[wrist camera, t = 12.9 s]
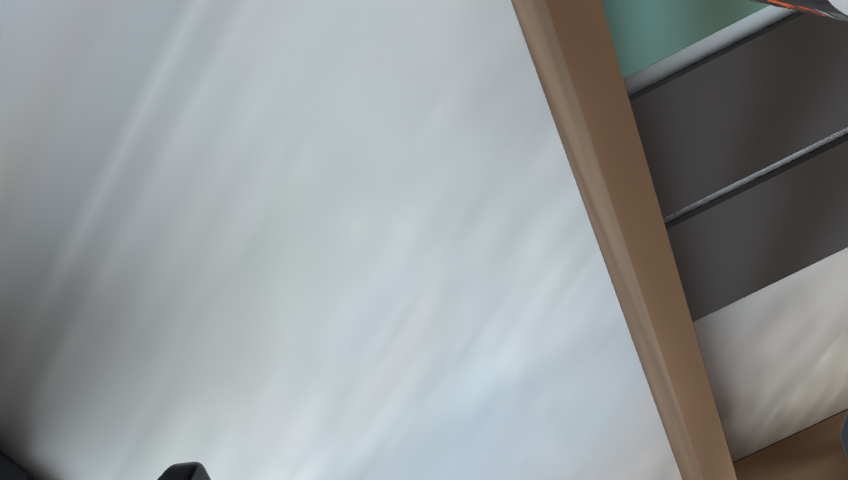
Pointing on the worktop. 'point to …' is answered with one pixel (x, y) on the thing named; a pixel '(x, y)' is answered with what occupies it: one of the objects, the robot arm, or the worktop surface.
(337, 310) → the worktop surface
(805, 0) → the supplement bottle
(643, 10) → the wooden serving tray
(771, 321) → the worktop surface
